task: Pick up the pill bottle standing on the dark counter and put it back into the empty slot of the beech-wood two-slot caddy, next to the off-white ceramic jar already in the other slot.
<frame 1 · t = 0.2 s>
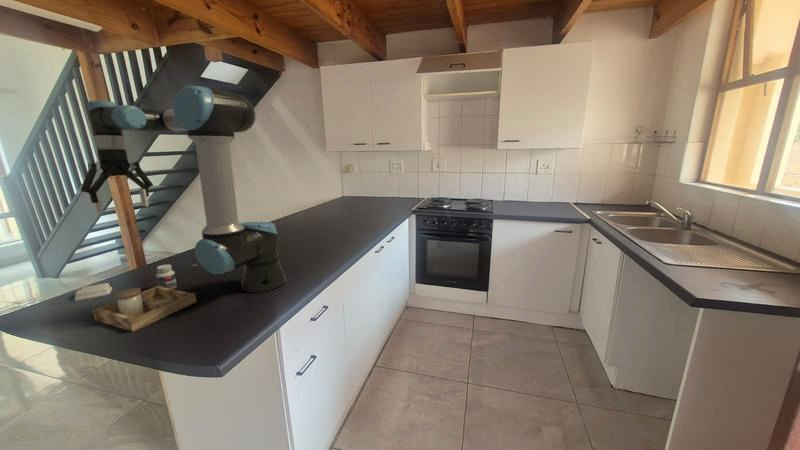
hand: (124, 209, 114), 27 cm above the counter, fingers open, 13 cm apart
jar: (133, 316, 91), point 1 cm above the counter, touching caddy
caddy: (148, 312, 95), on the counter
pill bottle: (168, 290, 111), on the counter
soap: (94, 295, 108), on the counter
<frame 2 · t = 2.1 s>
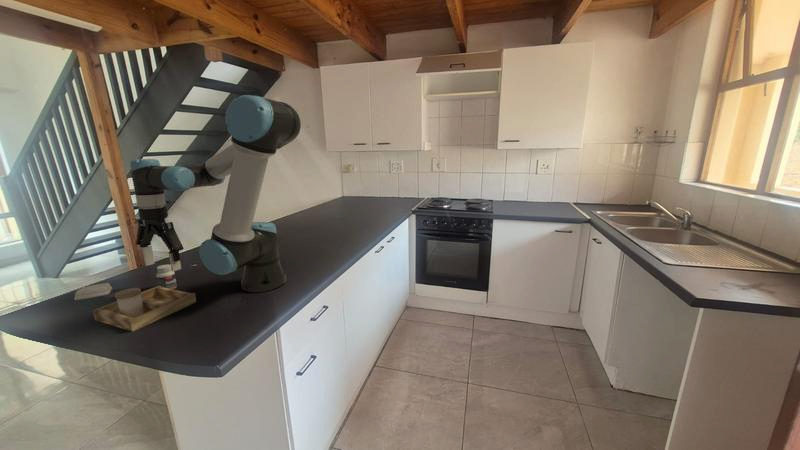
hand: (163, 267, 109), 8 cm above the counter, fingers open, 13 cm apart
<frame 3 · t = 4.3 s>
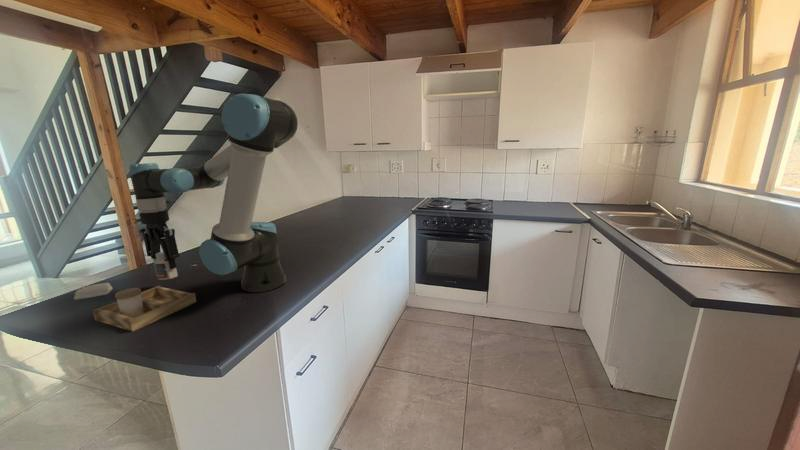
hand: (167, 276, 109), 5 cm above the counter, fingers closed on pill bottle, 5 cm apart
pill bottle: (167, 277, 109), point 5 cm above the counter, touching gripper
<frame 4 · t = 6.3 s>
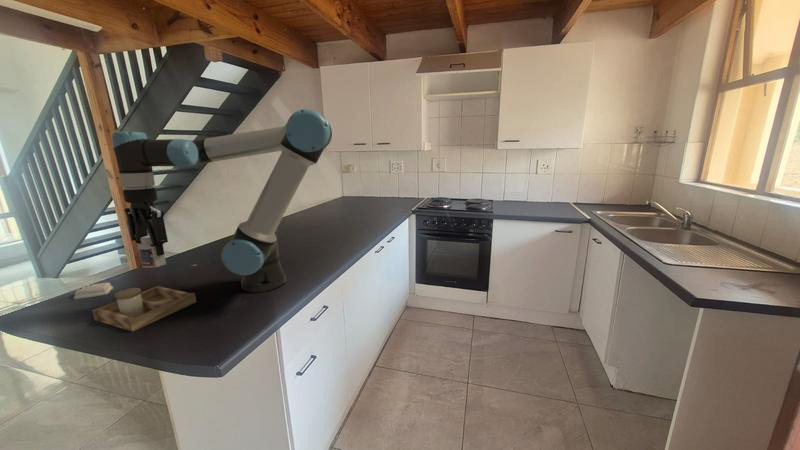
hand: (154, 264, 95), 14 cm above the counter, fingers closed on pill bottle, 5 cm apart
pill bottle: (154, 265, 95), point 14 cm above the counter, touching gripper
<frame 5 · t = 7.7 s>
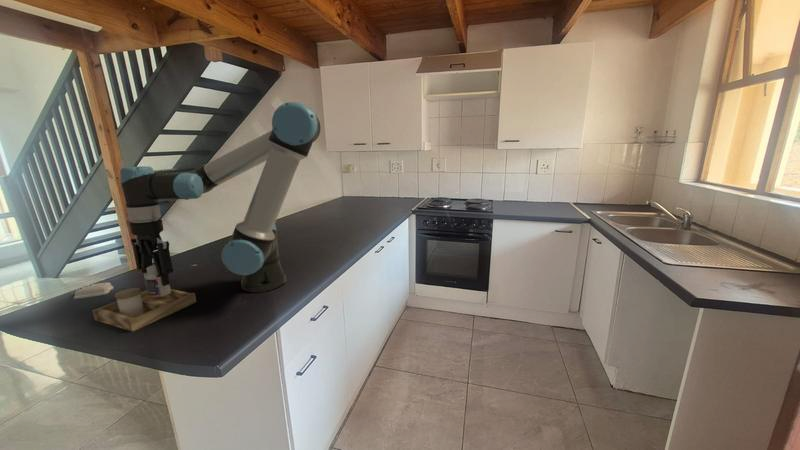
hand: (159, 292, 98), 5 cm above the counter, fingers closed on pill bottle, 5 cm apart
pill bottle: (159, 294, 98), point 4 cm above the counter, touching gripper
when the fingers open (2 cm above the counter, at t = 8.7 s): pill bottle stays where it is, resting on caddy.
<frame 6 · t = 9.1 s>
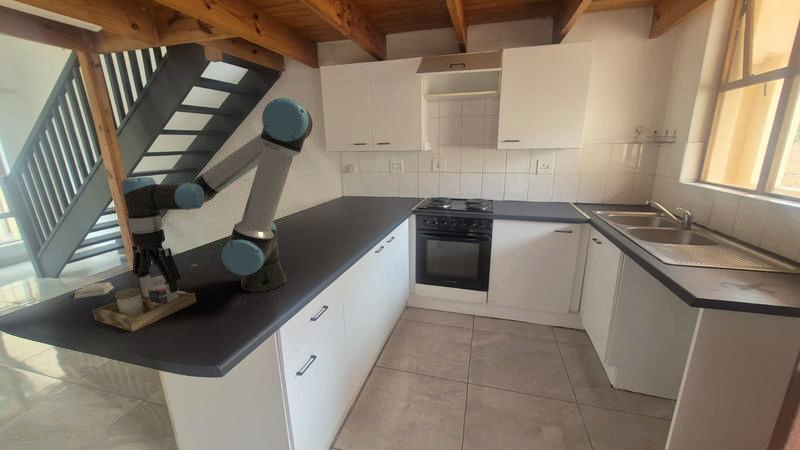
hand: (161, 298, 98), 3 cm above the counter, fingers open, 11 cm apart
pill bottle: (162, 305, 98), point 1 cm above the counter, touching caddy
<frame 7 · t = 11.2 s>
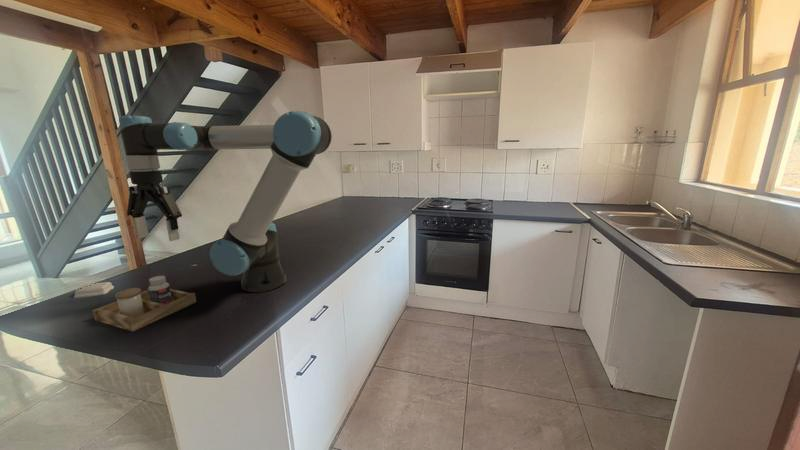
hand: (158, 238, 99), 21 cm above the counter, fingers open, 13 cm apart
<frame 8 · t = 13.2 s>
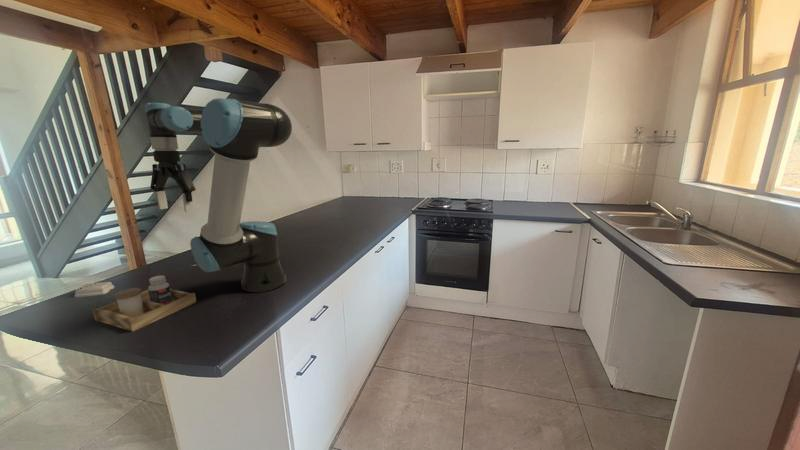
hand: (176, 209, 115), 27 cm above the counter, fingers open, 13 cm apart
at the end: pill bottle inside the target area on the caddy (0.0 cm from its centre), point 0.6 cm above the caddy's base; pill bottle tilted 0°; jar moved 0.0 cm from its start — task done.
